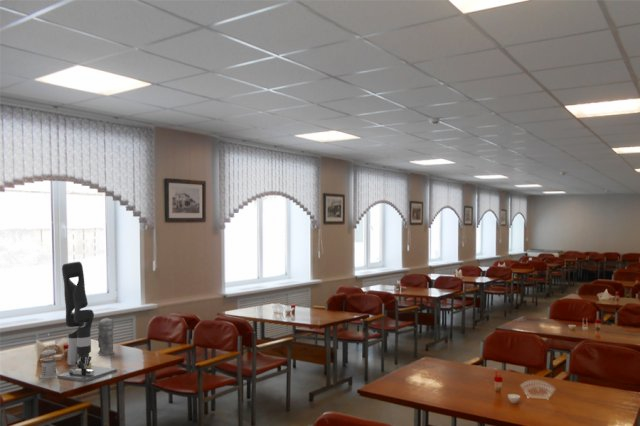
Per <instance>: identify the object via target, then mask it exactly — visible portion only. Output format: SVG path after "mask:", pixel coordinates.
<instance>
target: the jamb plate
mask: <svg viewBox="0 0 640 426" xmlns="http://www.w3.org/2000/svg"><path fill="white" fill-rule="evenodd" d="M86 369H89V370H94V374H93V375H91V376H90V375H84V376H82V375H77V374H69V371H67V372H64V373H60V374H58V375H57V376H56V378H57V379H62V380H68V379H69V380H70V381H76V382H82V381H83V382H84V383H86V381H87V382H89V381H92V380H95V379H99V378H101V377H105V376H106V375H110V374H113V373H116V372H118V369H117V368H114V367H106V366H105V367H104V366H97V365H92V362H90V363H89V366H87V368H86Z"/></svg>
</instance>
